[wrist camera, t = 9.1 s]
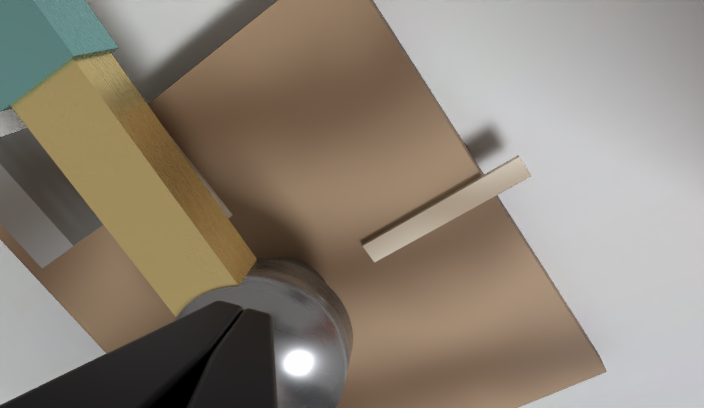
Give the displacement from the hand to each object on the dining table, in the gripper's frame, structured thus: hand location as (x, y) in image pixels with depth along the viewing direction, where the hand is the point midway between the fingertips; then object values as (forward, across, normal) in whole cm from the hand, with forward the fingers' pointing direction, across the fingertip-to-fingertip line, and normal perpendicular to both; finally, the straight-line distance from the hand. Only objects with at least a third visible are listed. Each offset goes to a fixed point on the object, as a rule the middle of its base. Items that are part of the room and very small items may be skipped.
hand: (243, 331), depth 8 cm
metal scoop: (+9, +5, +3) cm, 11 cm away
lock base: (+12, +1, +6) cm, 14 cm away
